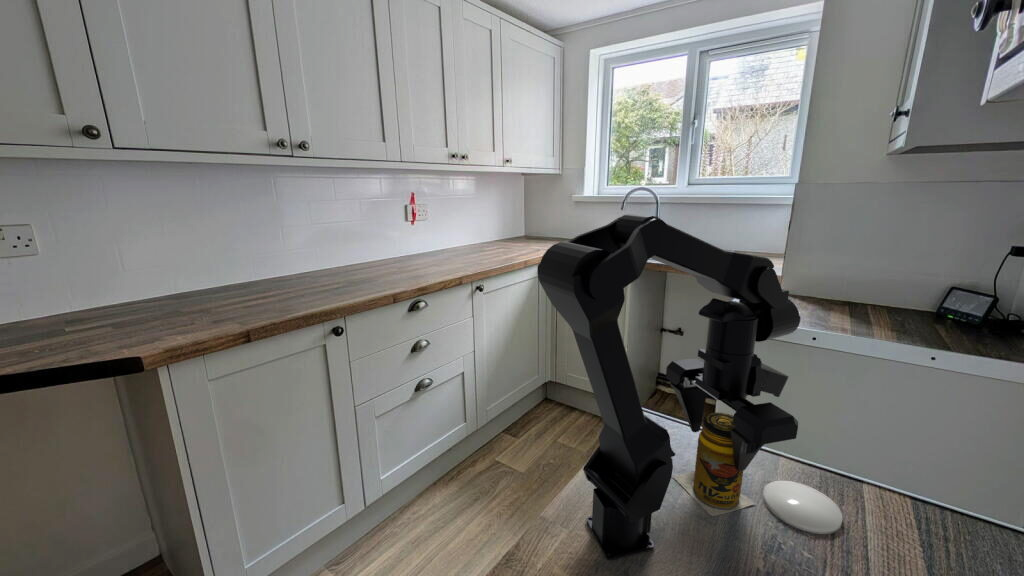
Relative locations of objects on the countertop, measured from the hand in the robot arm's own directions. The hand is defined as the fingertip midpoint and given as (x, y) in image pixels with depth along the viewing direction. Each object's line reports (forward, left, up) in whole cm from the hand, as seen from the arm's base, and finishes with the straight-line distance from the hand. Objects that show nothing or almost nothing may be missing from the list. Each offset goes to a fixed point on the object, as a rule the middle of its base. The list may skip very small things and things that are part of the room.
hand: (716, 449), depth 60 cm
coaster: (+10, -6, -7) cm, 13 cm away
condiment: (0, 0, -7) cm, 7 cm away
